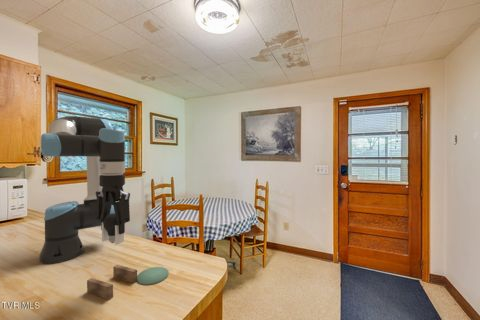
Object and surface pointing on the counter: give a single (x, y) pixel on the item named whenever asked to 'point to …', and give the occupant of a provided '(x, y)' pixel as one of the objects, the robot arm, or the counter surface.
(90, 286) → the pair of wooden planks
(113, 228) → the light bulb
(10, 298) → the counter surface
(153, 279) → the pad
